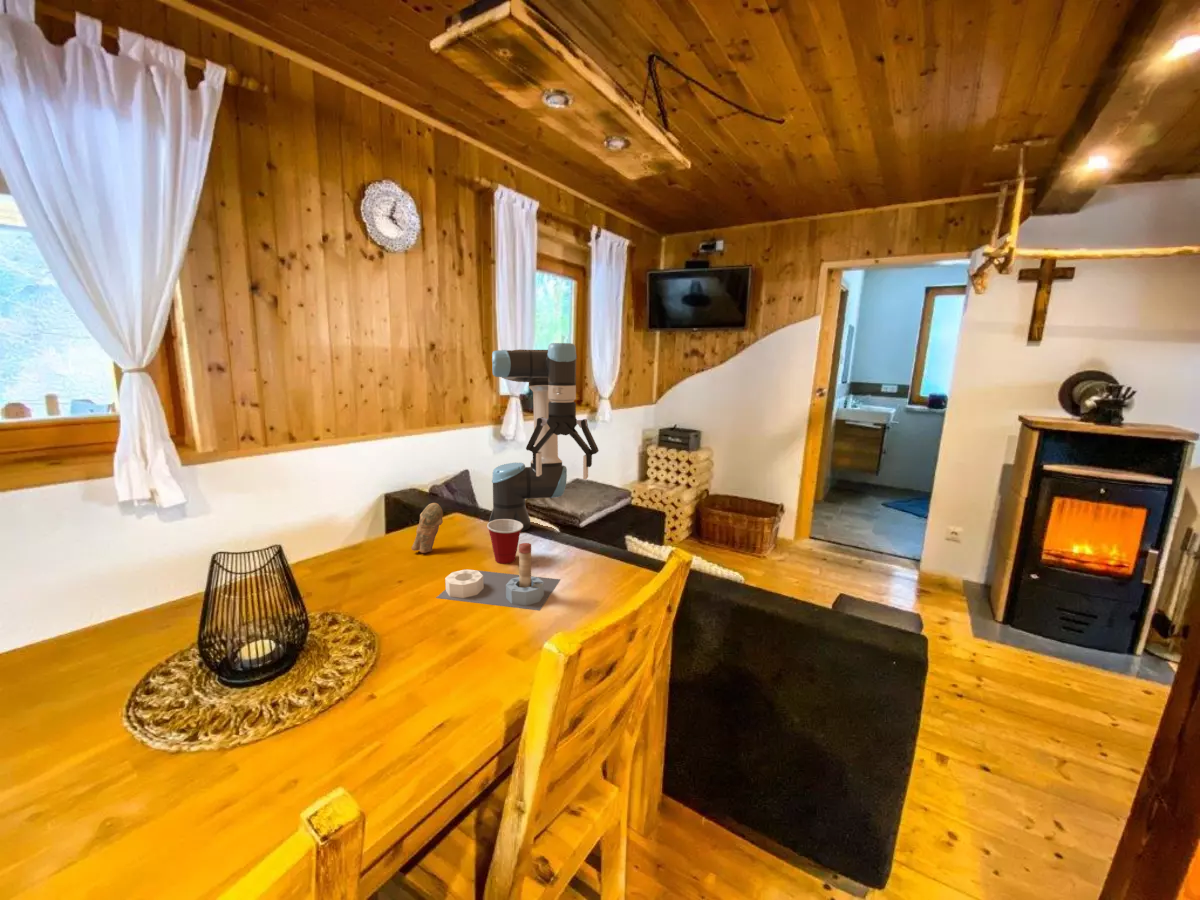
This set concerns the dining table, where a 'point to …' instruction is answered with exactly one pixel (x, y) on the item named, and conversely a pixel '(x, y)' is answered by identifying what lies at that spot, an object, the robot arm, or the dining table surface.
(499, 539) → the plastic cup
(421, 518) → the figurine
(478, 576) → the bead white
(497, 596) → the felt mat
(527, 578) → the dowel
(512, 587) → the bead blue
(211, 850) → the dining table surface
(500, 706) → the dining table surface
